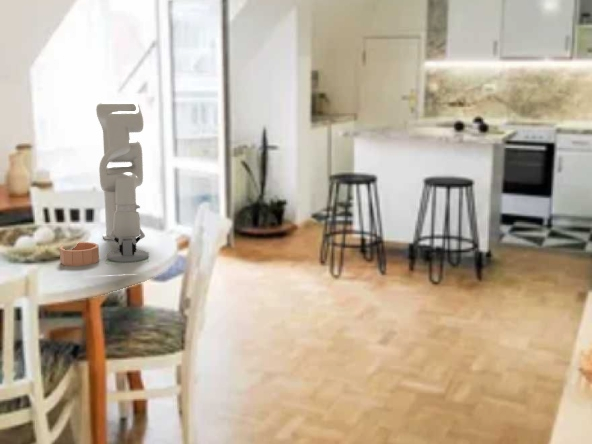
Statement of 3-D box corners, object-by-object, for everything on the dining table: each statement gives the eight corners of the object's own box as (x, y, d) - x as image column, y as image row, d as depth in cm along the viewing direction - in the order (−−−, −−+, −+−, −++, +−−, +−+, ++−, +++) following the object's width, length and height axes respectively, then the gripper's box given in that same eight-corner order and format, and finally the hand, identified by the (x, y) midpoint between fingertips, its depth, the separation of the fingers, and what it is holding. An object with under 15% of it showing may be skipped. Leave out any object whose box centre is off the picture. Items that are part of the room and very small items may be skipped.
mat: (108, 254, 292) (108, 253, 292) (149, 252, 295) (149, 251, 295) (105, 264, 277) (105, 263, 277) (148, 263, 280) (148, 262, 280)
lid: (108, 252, 292) (107, 235, 291) (149, 251, 295) (148, 234, 294) (105, 263, 277) (104, 245, 276) (148, 261, 280) (148, 244, 278)
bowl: (63, 257, 286) (62, 242, 285) (100, 256, 289) (99, 241, 288) (58, 267, 273) (57, 251, 272) (97, 265, 275) (96, 250, 274)
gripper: (148, 205, 287) (149, 250, 291) (104, 206, 284) (106, 252, 288) (147, 209, 280) (149, 255, 284) (103, 210, 277) (105, 257, 281)
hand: (127, 253), depth 286 cm, fingers closed on lid, 3 cm apart
